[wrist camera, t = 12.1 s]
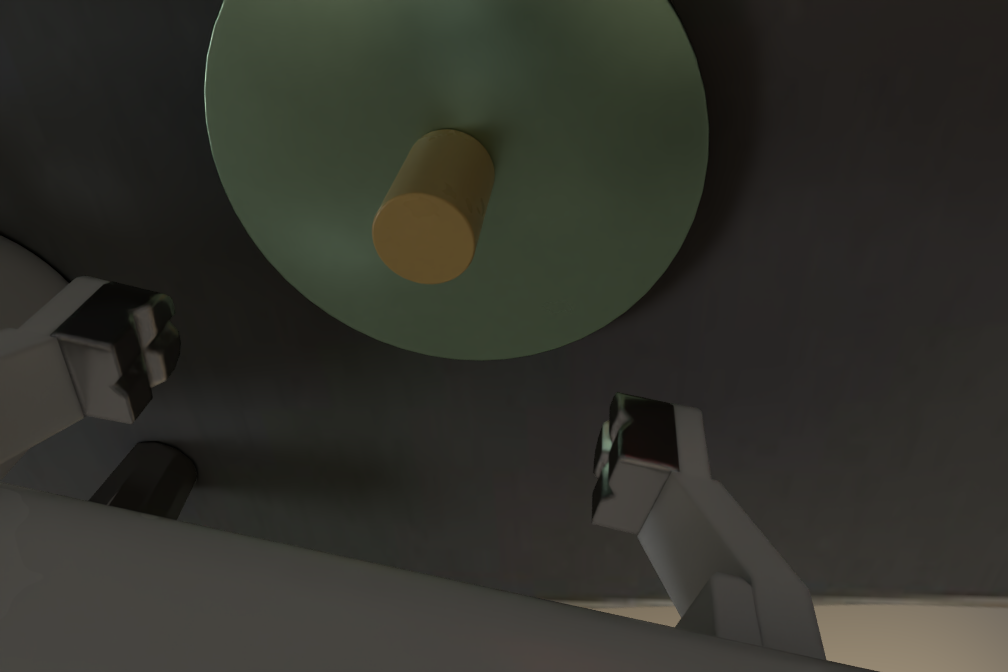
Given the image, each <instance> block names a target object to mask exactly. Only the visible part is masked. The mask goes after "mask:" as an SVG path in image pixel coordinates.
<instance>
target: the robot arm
mask: <svg viewBox="0 0 1008 672" xmlns="http://www.w3.org/2000/svg"><path fill="white" fill-rule="evenodd" d="M174 314H175V309H174V305H173V301H172V298H171V297H169V296H167V295H166V294H162V293H158V292H154V291H150V290H146V289H142V288H138V287H133V286H129V285H125V284H121V283H117V282H110V281H106V280H102V279H98V278H94V277H90V276H86V275H85V276H81V277H77V278H75V279H74V280H73V281H72V282H70V283H69V284H68V285H67V286H66V287H65V288H64V289H62V290H61V291H60V292H59V293H58V294H57V295H56V296H54V297H53V298H52V299H51V300H50V301H49V302H48V303H47V304H45V305H44V306H43V307H42V308H41V309H40V310H39V311H37V312H36V313H35V314H34V315H33V316H32V317H31V318H29V319H28V320H27V321H26V322H25V323H24V324H23V325H22V326H20V327H19V328H18V329H14V328H9V327H8V328H5V329H2V330H0V464H2V463H4V462H6V461H8V460H9V459H11V458H13V457H15V456H17V455H18V454H20V453H22V452H24V451H26V450H27V449H29V448H31V447H33V446H35V445H36V444H38V443H40V442H42V441H43V440H45V439H47V438H49V437H51V436H52V435H54V434H56V433H58V432H60V431H61V430H63V429H65V428H67V427H69V426H70V425H72V424H74V423H76V422H78V421H79V420H81V419H83V418H84V415H86V416H91V417H96V418H102V419H107V420H112V421H118V422H123V423H128V424H133V423H134V421H135V420H136V419H137V417H138V416H139V415H140V414H141V412H142V411H143V410H144V408H145V407H146V406H147V405H148V403H149V402H150V401H151V400H152V398H153V396H152V390H151V387H153V386H155V385H157V384H160V383H162V382H164V381H166V380H167V379H168V377H169V376H170V375H171V373H172V372H173V371H174V369H175V367H176V364H177V361H178V358H179V356H180V347H181V340H180V335H179V331H178V330H177V329H176V328H175V327H174V326H173V324H172V323H171V322H170V321H169V320H170V319H171V317H172V316H173V315H174ZM593 473H594V475H595V476H596V478H597V479H598V481H597V483H596V486H595V488H594V491H593V494H592V524H596V525H600V526H604V527H608V528H612V529H616V530H620V531H624V532H628V533H633V534H637V535H638V536H637V537H638V539H639V541H640V543H641V545H642V547H643V548H644V550H645V552H646V554H647V556H648V558H649V559H650V561H651V563H652V565H653V567H654V569H655V570H656V572H657V574H658V576H659V578H660V580H661V581H662V583H663V585H664V587H665V589H666V591H667V592H668V594H669V596H670V598H671V600H672V602H673V603H674V605H675V607H676V609H677V611H678V613H679V614H680V616H681V620H680V621H679V623H678V624H677V625H676V627H670V626H665V625H661V624H656V623H651V622H647V621H642V620H637V619H633V618H628V617H623V616H619V615H614V614H610V613H605V612H601V611H596V610H591V609H587V608H582V607H577V606H573V605H568V604H563V603H559V602H554V601H550V600H545V599H540V598H536V597H531V596H526V595H522V594H517V593H513V592H508V591H503V590H499V589H494V588H489V587H485V586H480V585H475V584H471V583H466V582H461V581H457V580H452V579H447V578H443V577H438V576H433V575H429V574H424V573H419V572H415V571H410V570H405V569H401V568H396V567H391V566H387V565H382V564H378V563H373V562H368V561H364V560H359V559H354V558H350V557H345V556H340V555H336V554H331V553H326V552H322V551H317V550H313V549H308V548H303V547H299V546H294V545H289V544H285V543H280V542H276V541H271V540H266V539H262V538H257V537H252V536H248V535H243V534H239V533H234V532H229V531H225V530H220V529H215V528H211V527H206V526H202V525H197V524H192V523H188V522H183V521H178V520H174V519H169V518H165V517H160V516H155V515H151V514H146V513H141V512H137V511H132V510H127V509H123V508H118V507H113V506H109V505H104V504H100V503H95V502H90V501H86V500H81V499H76V498H72V497H67V496H62V495H58V494H53V493H49V492H44V491H39V490H35V489H30V488H25V487H21V486H16V485H11V484H7V483H2V482H0V672H878V671H874V670H869V669H864V668H859V667H855V666H850V665H846V664H841V663H837V662H832V661H827V660H826V657H825V653H824V648H823V644H822V640H821V636H820V632H819V627H818V624H817V619H816V615H815V611H814V607H813V602H812V598H811V594H810V590H809V589H808V588H807V586H806V585H805V584H804V583H803V582H802V580H801V579H800V578H799V577H798V576H797V574H796V573H795V572H794V571H793V570H792V568H791V567H790V566H789V565H788V563H787V562H786V561H785V560H784V559H783V557H782V556H781V555H780V554H779V553H778V551H777V550H776V549H775V548H774V547H773V545H772V544H771V543H770V542H769V540H768V539H767V538H766V537H765V536H764V534H763V533H762V532H761V531H760V530H759V528H758V527H757V526H756V525H755V524H754V522H753V521H752V520H751V519H750V517H749V516H748V515H747V514H746V513H745V511H744V510H743V509H742V508H741V507H740V505H739V504H738V503H737V502H736V501H735V499H734V498H733V497H732V496H731V494H730V493H729V492H728V491H727V490H726V488H725V487H724V486H723V485H722V484H721V482H720V481H716V480H712V479H711V472H710V465H709V458H708V451H707V444H706V437H705V430H704V423H703V416H702V412H701V411H700V409H699V408H694V407H689V406H684V405H679V404H674V403H671V404H670V403H667V402H663V401H658V400H653V399H648V398H644V397H639V396H634V395H629V394H624V393H620V392H617V393H616V394H615V396H614V397H613V400H612V402H611V405H610V414H609V421H607V422H605V423H603V425H602V428H601V431H600V434H599V437H598V441H597V445H596V449H595V456H594V469H593Z"/></svg>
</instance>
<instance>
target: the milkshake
mask: <svg viewBox="0 0 1008 672" xmlns="http://www.w3.org/2000/svg"><path fill="white" fill-rule="evenodd" d="M197 477H198V476H197V473H196V470H195V466H194V463H193V462H192V461H191V460H190V459H188V458H187V457H186V456H185V455H184V454H183V453H181V452H180V451H179V450H178V449H175V448H172V447H169V446H166V445H164V444H161V443H158V442H149V443H137V444H136V445H135V446H134V447H133V449H132V450H131V451H130V452H129V453H128V454H127V456H126V457H125V458H124V459H123V460H122V461H121V463H120V464H119V465H118V466H117V467H116V469H115V470H114V471H113V472H112V473H111V474H110V476H109V477H108V478H107V479H106V480H105V482H104V483H103V484H102V485H101V486H100V487H99V489H98V490H97V491H96V492H95V493H94V494H93V496H92V497H91V498H90V499H89V500H88V501H90V502H95V503H100V504H104V505H109V506H113V507H118V508H123V509H127V510H132V511H137V512H141V513H146V514H151V515H155V516H160V517H165V518H169V519H174V520H177V519H178V517H179V515H180V512H181V510H182V508H183V506H184V504H185V502H186V500H187V498H188V496H189V494H190V492H191V490H192V488H193V486H194V484H195V482H196V480H197Z"/></svg>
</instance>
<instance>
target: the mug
mask: <svg viewBox="0 0 1008 672" xmlns="http://www.w3.org/2000/svg"><path fill="white" fill-rule="evenodd" d="M68 284H69V283H68V282H67V281H66V280H65V279H64V278H63V277H62V276H61V275H60V274H59V273H58V272H57V271H55V270H54V269H53V268H52V267H51V266H49V265H48V264H47V263H46V262H44V261H43V260H42V259H40V258H39V257H37V256H36V255H35V254H33V253H32V252H30V251H28V250H27V249H25V248H23V247H22V246H20V245H18V244H17V243H15V242H13V241H11V240H9V239H7V238H5V237H3V236H0V330H2V329H5V328H8V327H9V328H14V329H18V328H19V327H20V326H22V325H23V324H24V323H25V322H26V321H27V320H28V319H29V318H31V317H32V316H33V315H34V314H35V313H36V312H37V311H39V310H40V309H41V308H42V307H43V306H44V305H45V304H47V303H48V302H49V301H50V300H51V299H52V298H53V297H54V296H56V295H57V294H58V293H59V292H60V291H61V290H62V289H64V288H65V287H66V286H67V285H68ZM27 450H28V449H27ZM27 450H26V451H27ZM26 451H24V452H22V453H20V454H18V455H17V456H15V457H13V458H11V459H9V460H8V461H6V462H4V463H2V464H0V481H1V480H2V479H3V478H4V476H5V475H6V474H7V473H8V472H9V471H10V470H11V468H12V467H13V466H14V465H15V464H16V463H17V462H18V461H19V459H20V458H21V457H22V456H23V455H24V454H25V453H26Z"/></svg>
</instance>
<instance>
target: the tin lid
mask: <svg viewBox="0 0 1008 672" xmlns="http://www.w3.org/2000/svg"><path fill="white" fill-rule="evenodd" d="M204 104H205V121H206V127H207V132H208V137H209V143H210V148H211V153H212V156H213V159H214V162H215V165H216V169H217V172H218V175H219V178H220V181H221V184H222V186H223V188H224V190H225V192H226V195H227V197H228V199H229V201H230V203H231V206H232V208H233V210H234V212H235V213H236V215H237V217H238V218H239V220H240V222H241V223H242V225H243V227H244V228H245V230H246V232H247V233H248V235H249V237H250V238H251V239H252V241H253V242H254V243H255V245H256V246H257V247H258V249H259V250H260V251H261V252H262V254H263V255H264V256H265V258H266V259H267V260H268V261H269V262H270V263H271V265H272V266H273V267H274V268H275V269H276V270H277V271H278V272H279V273H280V274H281V275H282V276H283V277H284V279H285V280H286V281H288V282H289V283H290V284H291V285H292V286H293V287H294V288H295V289H297V290H298V291H299V292H300V293H301V294H302V295H303V296H304V297H306V298H307V299H308V300H309V301H311V302H312V303H314V304H315V305H316V306H318V307H319V308H321V309H322V310H323V311H325V312H326V313H327V314H329V315H330V316H332V317H334V318H335V319H337V320H339V321H341V322H342V323H344V324H346V325H347V326H349V327H351V328H352V329H354V330H357V331H359V332H361V333H363V334H365V335H367V336H370V337H372V338H374V339H376V340H378V341H381V342H384V343H387V344H390V345H392V346H395V347H398V348H401V349H404V350H408V351H412V352H416V353H420V354H424V355H428V356H435V357H441V358H448V359H455V360H477V361H484V360H502V359H511V358H518V357H524V356H530V355H535V354H538V353H542V352H546V351H549V350H553V349H557V348H560V347H562V346H565V345H567V344H570V343H572V342H575V341H577V340H580V339H582V338H584V337H586V336H588V335H590V334H591V333H593V332H595V331H597V330H599V329H601V328H603V327H604V326H606V325H607V324H609V323H610V322H612V321H613V320H615V319H616V318H617V317H619V316H620V315H622V314H623V313H625V312H626V311H627V310H628V309H630V308H631V307H632V306H633V305H634V304H635V303H636V302H637V301H638V300H639V299H641V298H642V297H643V296H644V295H645V294H646V293H647V292H648V291H649V290H650V289H651V288H652V286H653V285H654V284H655V283H656V282H657V280H658V279H659V278H660V277H661V276H662V275H663V273H664V272H665V271H666V270H667V268H668V267H669V265H670V263H671V262H672V260H673V259H674V257H675V256H676V254H677V253H678V251H679V250H680V248H681V246H682V244H683V242H684V240H685V238H686V236H687V234H688V232H689V230H690V227H691V225H692V223H693V221H694V219H695V216H696V212H697V209H698V206H699V203H700V199H701V196H702V193H703V190H704V184H705V178H706V171H707V165H708V159H709V118H708V109H707V101H706V93H705V88H704V84H703V80H702V76H701V73H700V69H699V65H698V62H697V58H696V54H695V52H694V49H693V47H692V45H691V42H690V40H689V38H688V35H687V33H686V31H685V28H684V26H683V24H682V21H681V19H680V17H679V15H678V13H677V11H676V10H675V8H674V6H673V5H672V3H671V1H670V0H223V1H222V4H221V6H220V9H219V11H218V14H217V17H216V19H215V22H214V24H213V29H212V33H211V38H210V42H209V47H208V51H207V56H206V66H205V79H204Z"/></svg>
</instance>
